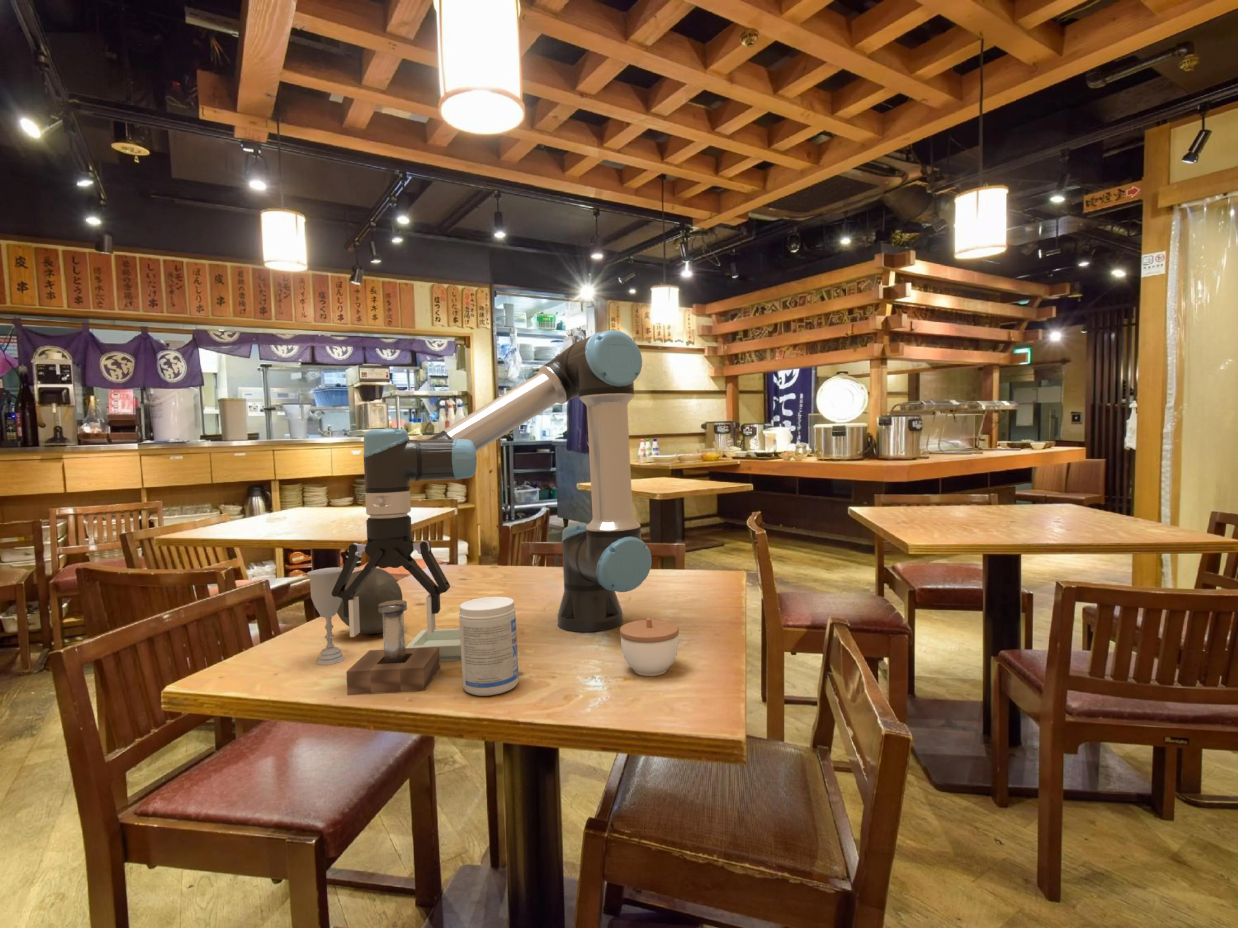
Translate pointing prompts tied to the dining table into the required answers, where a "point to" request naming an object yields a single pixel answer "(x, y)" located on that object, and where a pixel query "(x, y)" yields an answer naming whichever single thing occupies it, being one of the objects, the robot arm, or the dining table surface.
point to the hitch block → (393, 672)
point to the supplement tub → (488, 645)
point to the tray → (440, 643)
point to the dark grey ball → (372, 599)
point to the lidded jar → (649, 645)
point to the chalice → (326, 608)
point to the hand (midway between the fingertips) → (393, 633)
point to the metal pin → (393, 630)
